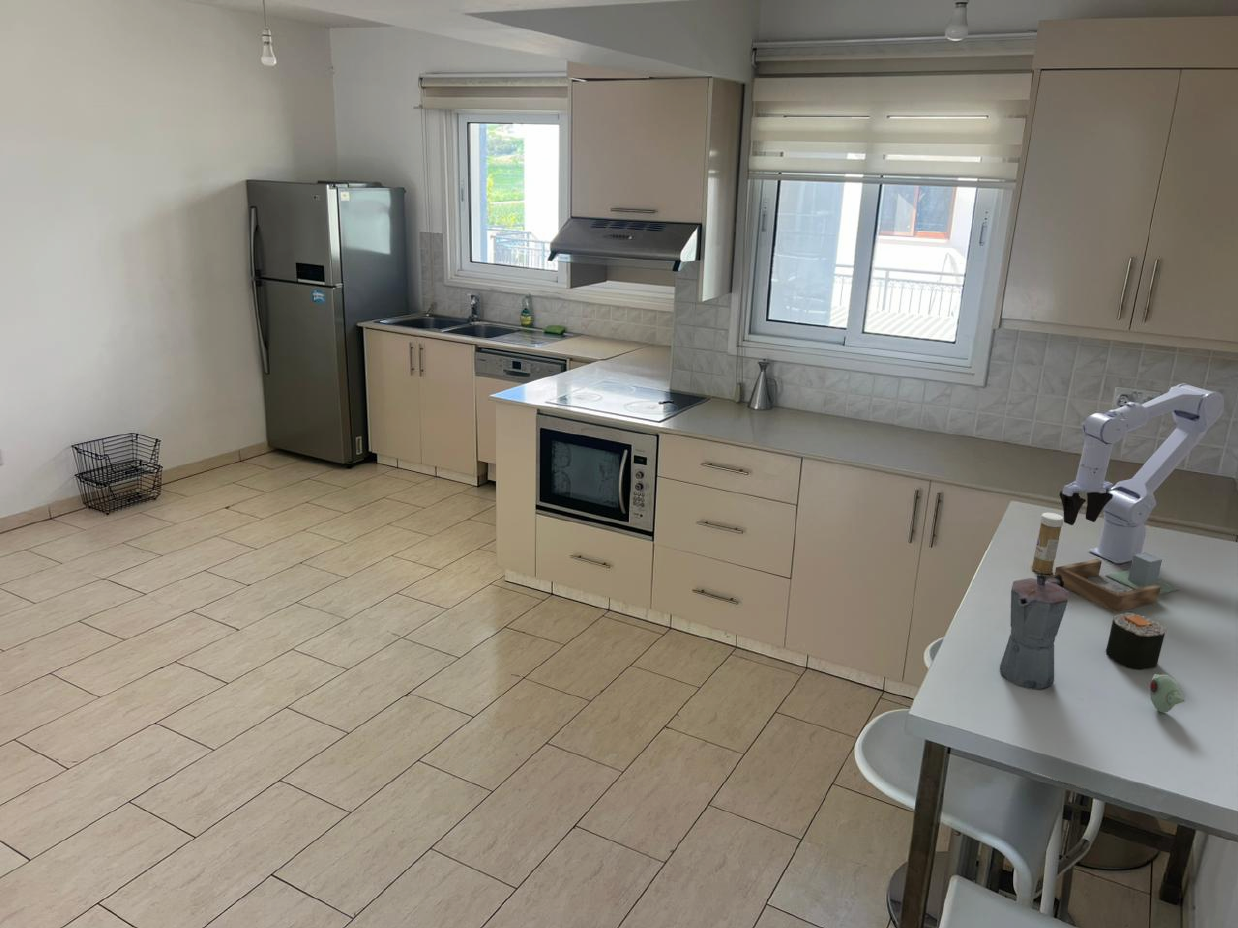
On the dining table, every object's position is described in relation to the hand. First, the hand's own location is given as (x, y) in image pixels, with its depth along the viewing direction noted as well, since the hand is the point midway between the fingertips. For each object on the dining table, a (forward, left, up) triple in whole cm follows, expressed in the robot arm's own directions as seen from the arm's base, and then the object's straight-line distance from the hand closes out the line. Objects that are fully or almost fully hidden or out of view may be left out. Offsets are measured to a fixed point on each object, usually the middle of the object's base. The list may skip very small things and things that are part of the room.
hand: (1079, 521), depth 210 cm
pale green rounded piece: (+41, +51, -10) cm, 66 cm away
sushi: (+29, +37, -10) cm, 48 cm away
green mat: (-4, +15, -10) cm, 18 cm away
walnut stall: (+8, +15, -10) cm, 20 cm away
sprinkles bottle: (+12, +2, -10) cm, 16 cm away
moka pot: (+53, +34, -10) cm, 64 cm away
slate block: (-4, +15, -9) cm, 18 cm away
